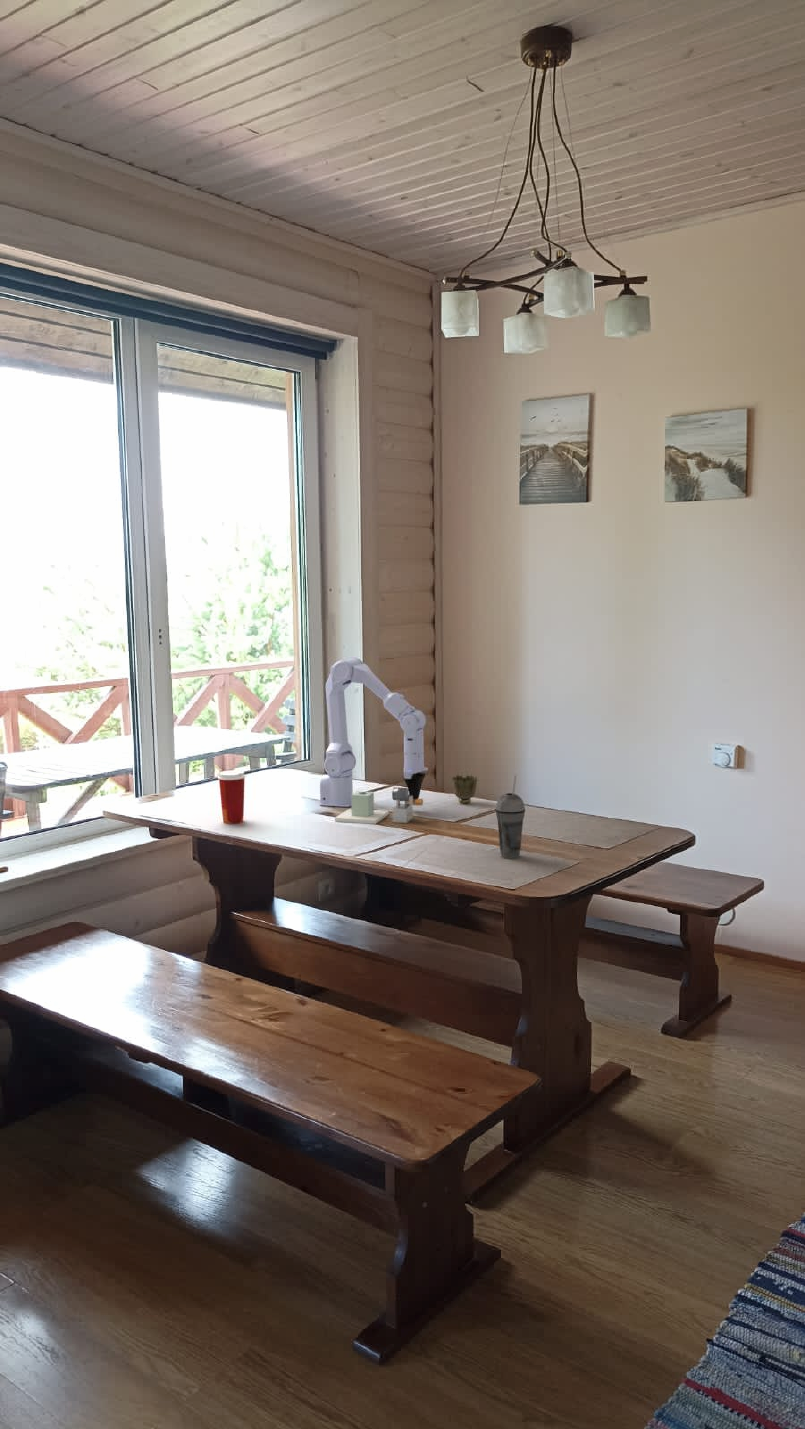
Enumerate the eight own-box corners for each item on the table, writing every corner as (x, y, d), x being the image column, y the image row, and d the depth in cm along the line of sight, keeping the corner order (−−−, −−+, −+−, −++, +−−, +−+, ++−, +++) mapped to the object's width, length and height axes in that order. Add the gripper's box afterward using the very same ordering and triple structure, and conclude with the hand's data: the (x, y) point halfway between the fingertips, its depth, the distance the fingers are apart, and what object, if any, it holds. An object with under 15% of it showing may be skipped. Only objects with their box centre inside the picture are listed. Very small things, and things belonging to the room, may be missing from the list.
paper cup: (252, 819, 285) (250, 771, 283) (237, 825, 278) (235, 776, 276) (229, 817, 288) (227, 769, 286) (213, 823, 281) (211, 774, 279)
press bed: (335, 821, 281) (335, 817, 281) (349, 811, 293) (349, 808, 293) (375, 823, 278) (375, 820, 278) (388, 814, 289) (388, 810, 289)
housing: (351, 815, 283) (351, 794, 283) (357, 811, 288) (357, 790, 287) (368, 816, 282) (368, 795, 281) (374, 812, 287) (373, 791, 286)
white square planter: (392, 822, 280) (391, 798, 279) (398, 817, 285) (398, 794, 284) (407, 823, 278) (406, 799, 277) (413, 818, 284) (413, 795, 283)
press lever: (389, 799, 277) (390, 786, 278) (406, 806, 294) (407, 793, 294) (406, 800, 276) (407, 787, 277) (422, 807, 292) (423, 794, 293)
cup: (477, 800, 305) (477, 774, 304) (477, 806, 298) (476, 779, 297) (453, 800, 306) (452, 774, 305) (451, 805, 299) (451, 779, 298)
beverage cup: (492, 852, 247) (492, 773, 245) (521, 851, 248) (522, 772, 245) (498, 861, 240) (498, 778, 237) (528, 859, 241) (528, 778, 238)
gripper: (420, 757, 283) (420, 804, 285) (433, 749, 297) (434, 794, 298) (396, 756, 285) (397, 803, 287) (410, 748, 299) (411, 793, 300)
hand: (414, 798), depth 293 cm, fingers closed, pressing on press lever
